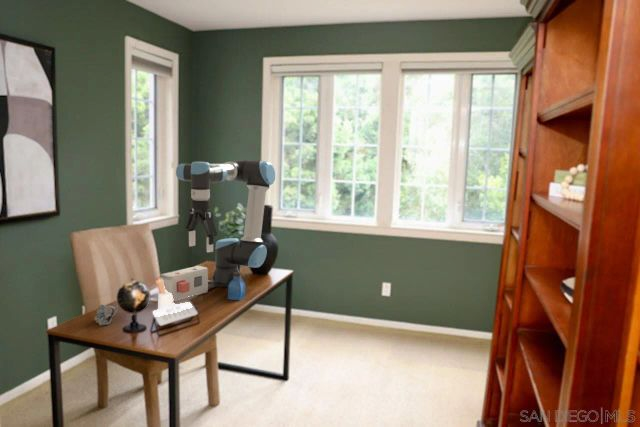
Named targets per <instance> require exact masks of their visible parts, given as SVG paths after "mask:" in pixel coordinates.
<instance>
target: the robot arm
mask: <svg viewBox="0 0 640 427" xmlns="http://www.w3.org/2000/svg"><path fill="white" fill-rule="evenodd" d="M275 170H276V169H275V167H274V164H272V162H270V161H266V160H253V159H252V160H251V159H240V160H232V161H231V160H230V161H225V162H224V163H210V162H209V161H192V162H191V163H180V164H178V165H177V166H176V169H175V176H176V177H177V179H178V180H180V181H184V182H190V184H191V186H190V188H191V190H190V194H191V196H190V197H191V201H190V208H189V209H188V210H189V211H188V217H187V219H186V220H187V221H186V224H185V226H184V227H185V229H187V231H188V247H194V246H195V247H196V227H197V225H198V223H199V222H200V224H202V226H203V228H204V230H205V231H204V232H206V253H213V252H214V249H215V257H214V258H215V260H214V261H215V262H214V263H215V265H214V266H215V267H214V272H213V273H212V276H211V283H213V284H212V285H216V287H217V286H218V287H228V286H229V284H230V282H231V281H232V280H233V279H234V278H233V275H234V273H235V272H240V270H239V266H243V267H248V268H260V267H261V266H262V265H263V264H264V262H265V261H266V258H267V254H268V252H267V247H266V246H265V244H264V240H263V239H262V232H263V231H262V230H263V221H264V214H265V212H264V211H265V203H266V202H265V201H266V196H267V191H268V190H269V189H270V187H271V185H273V184H274V183H275V180H276V171H275ZM225 180H226V181H234V182H240V183H246V187H247V189H248V194H247V195H248V197H247V205H246V213H245V214H246V215H245V224H244V233H243V237H241V238H240V240H239V238H236V237H229V238H221V239H219V240H217V241H216V243H215V248H214V241H215V240H214V237H215V236H218V233H217V229H216V225H215V221H214V218H213V217H214V216H213V212H212V211H211V212H208V209H210V208H211V201H210V198H211V193H210V192H211V189H210V188H211V187H210V185H211V184H220V183H223V182H225ZM240 279H242V277H241V278H240Z"/></svg>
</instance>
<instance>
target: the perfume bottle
mask: <svg viewBox="0 0 640 427" xmlns="http://www.w3.org/2000/svg"><path fill="white" fill-rule="evenodd" d="M241 274H242V273H241V272H240V271H239V272H235V273H234V275H233V278H234V279H233V280H232V281H231V282H230V284H229V286H227V299H228V300H234V301H235V300H236V301H241V300H243V299H244V298H245V297H246V285H247V284H246V283H245V281H244V279H243V278H242V276H241ZM240 278H241V279H240ZM242 298H243V299H242Z"/></svg>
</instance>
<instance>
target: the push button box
mask: <svg viewBox="0 0 640 427" xmlns="http://www.w3.org/2000/svg"><path fill="white" fill-rule="evenodd" d="M208 268H209V267H206V266H202V265H194V266H189V267H186V268H181V269H177V270H172V271H168V272H164V273H160V276H159V278H160V277H161V278H163V280H164V286H165V289H166V290H167V291H168V292H170V293H172V295H173V298H174V301H175V302H179V301H182V300H185V299H184V298H186V299H188V298H187V297H188V296H192V295H196V296H199V295H202V294H205V293H208V291H209V290H210V289H213V288H216V287H217V286H216V285H214V284H212V285H209V283H208V282H209V269H208ZM199 276H201V277H202V285H199V286H196V287H194V278H195V277H199ZM180 281H186V282H189V283H190V291H188V292H185V293H181V292H178V291H177V282H180ZM192 297H193V296H192ZM181 299H182V300H181ZM178 300H179V301H178ZM175 302H174V303H175Z"/></svg>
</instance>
